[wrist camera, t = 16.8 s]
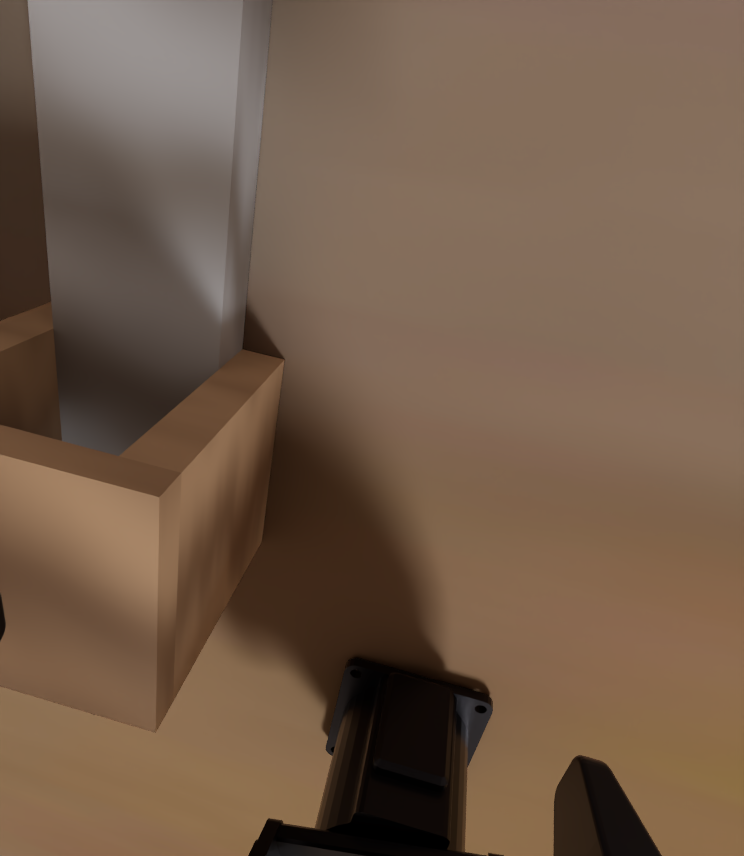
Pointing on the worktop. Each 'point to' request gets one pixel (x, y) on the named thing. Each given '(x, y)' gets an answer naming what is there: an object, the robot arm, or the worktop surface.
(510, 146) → the worktop surface
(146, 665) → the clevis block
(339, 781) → the robot arm
